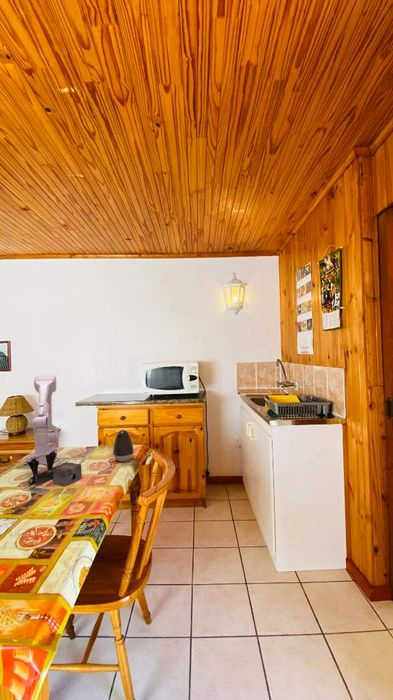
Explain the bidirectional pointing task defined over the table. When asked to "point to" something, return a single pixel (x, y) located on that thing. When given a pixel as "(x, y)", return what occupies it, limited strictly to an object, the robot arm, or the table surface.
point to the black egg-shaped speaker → (123, 446)
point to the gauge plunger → (46, 475)
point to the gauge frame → (60, 477)
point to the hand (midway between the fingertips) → (42, 472)
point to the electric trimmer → (31, 480)
